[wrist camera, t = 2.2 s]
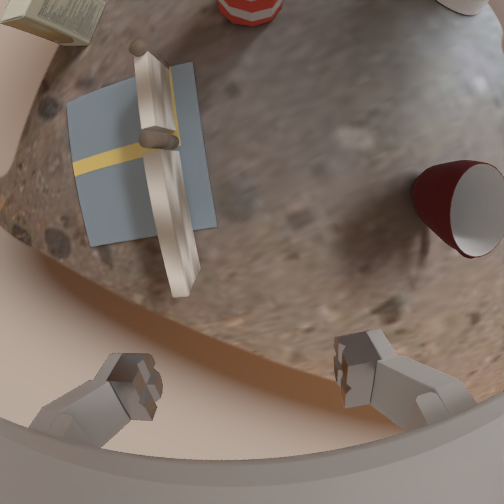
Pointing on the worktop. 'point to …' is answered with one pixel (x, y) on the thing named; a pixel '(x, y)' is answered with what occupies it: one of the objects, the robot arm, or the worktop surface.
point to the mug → (462, 205)
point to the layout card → (133, 159)
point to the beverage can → (249, 10)
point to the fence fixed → (153, 98)
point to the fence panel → (172, 219)
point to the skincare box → (55, 19)
